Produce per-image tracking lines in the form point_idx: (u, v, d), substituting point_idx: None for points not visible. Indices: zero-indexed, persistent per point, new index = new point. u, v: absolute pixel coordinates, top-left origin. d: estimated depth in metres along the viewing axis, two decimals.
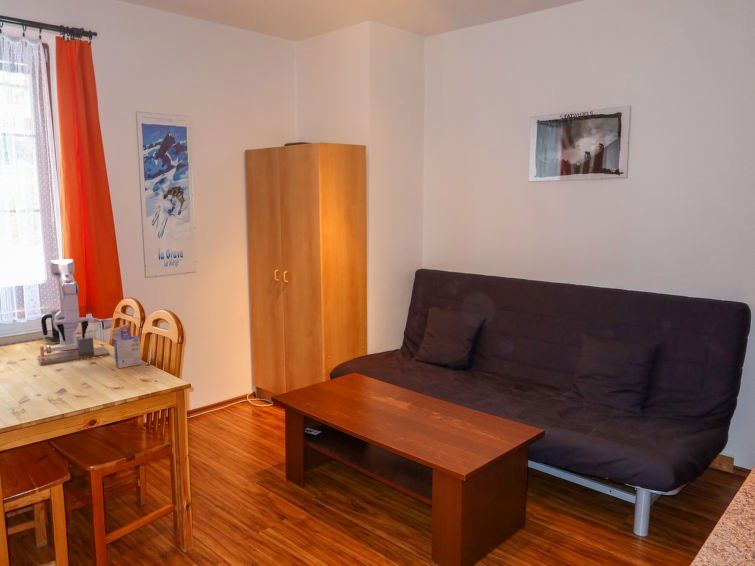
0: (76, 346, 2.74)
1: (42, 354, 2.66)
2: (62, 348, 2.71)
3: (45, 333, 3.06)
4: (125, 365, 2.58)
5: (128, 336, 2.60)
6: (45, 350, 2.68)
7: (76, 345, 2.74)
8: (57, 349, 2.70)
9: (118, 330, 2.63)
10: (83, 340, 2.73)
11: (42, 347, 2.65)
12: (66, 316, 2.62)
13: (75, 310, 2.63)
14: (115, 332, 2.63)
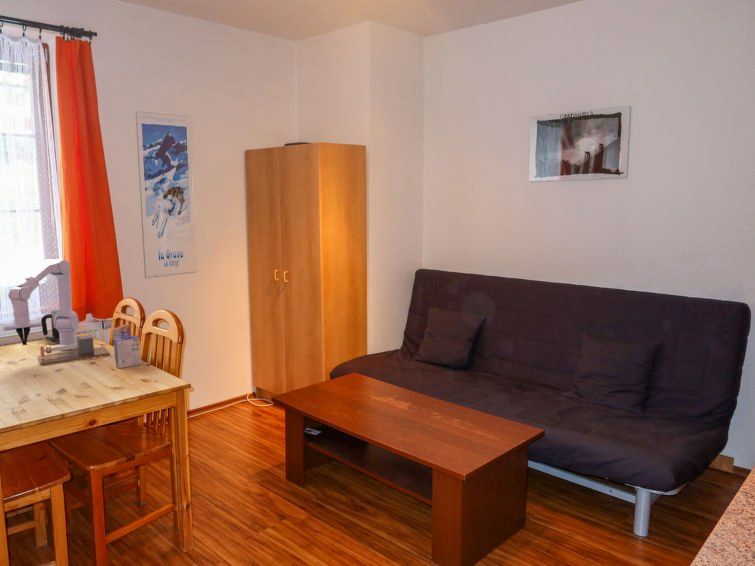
0: (76, 346, 2.74)
1: (42, 354, 2.66)
2: (62, 348, 2.71)
3: (45, 333, 3.06)
4: (125, 365, 2.58)
5: (128, 336, 2.60)
6: (45, 350, 2.68)
7: (76, 345, 2.74)
8: (57, 349, 2.70)
9: (118, 330, 2.63)
10: (83, 340, 2.73)
11: (42, 347, 2.65)
12: (16, 321, 2.59)
13: (25, 315, 2.60)
14: (115, 332, 2.63)
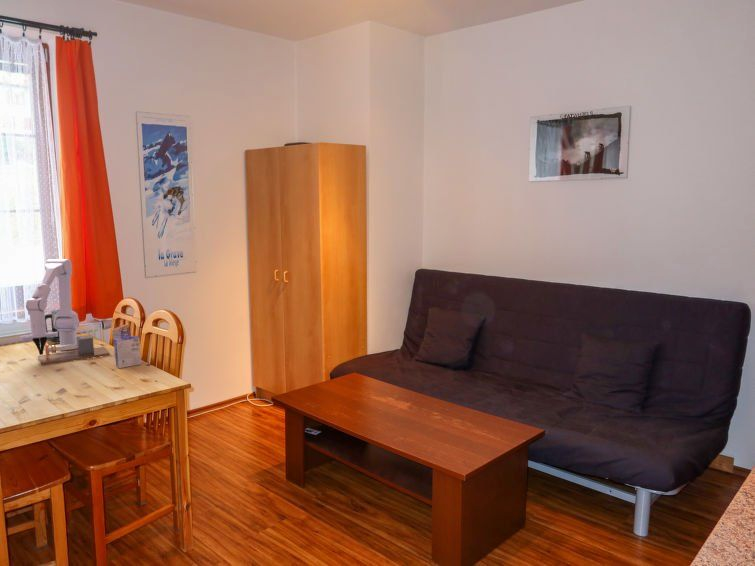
0: None
1: (47, 353, 2.67)
2: (67, 347, 2.72)
3: None
4: (125, 365, 2.58)
5: (128, 336, 2.60)
6: (50, 349, 2.69)
7: None
8: (62, 348, 2.71)
9: (118, 330, 2.63)
10: (83, 340, 2.73)
11: (47, 346, 2.66)
12: (33, 331, 2.63)
13: (42, 325, 2.64)
14: (115, 332, 2.63)
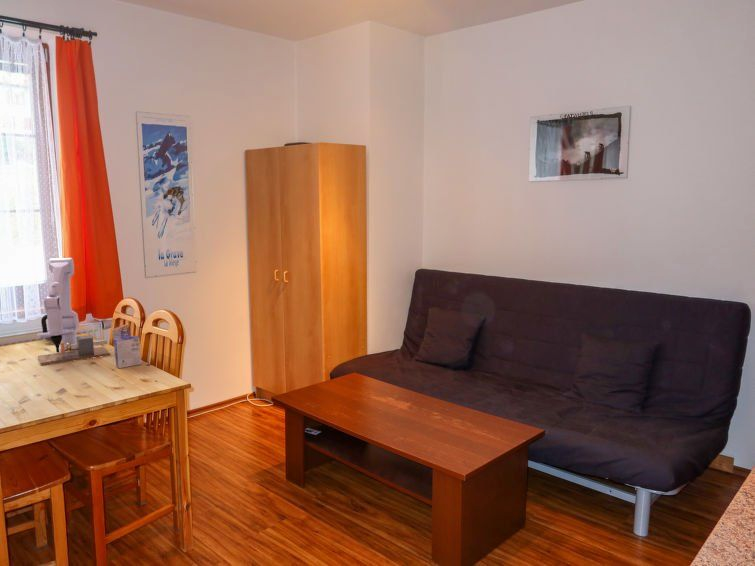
0: (95, 343, 2.79)
1: (62, 351, 2.70)
2: None
3: None
4: (125, 365, 2.58)
5: (128, 336, 2.60)
6: (65, 347, 2.72)
7: (95, 342, 2.79)
8: (77, 346, 2.75)
9: (118, 330, 2.63)
10: (83, 340, 2.73)
11: (62, 344, 2.70)
12: (50, 329, 2.67)
13: (59, 323, 2.68)
14: (115, 332, 2.63)
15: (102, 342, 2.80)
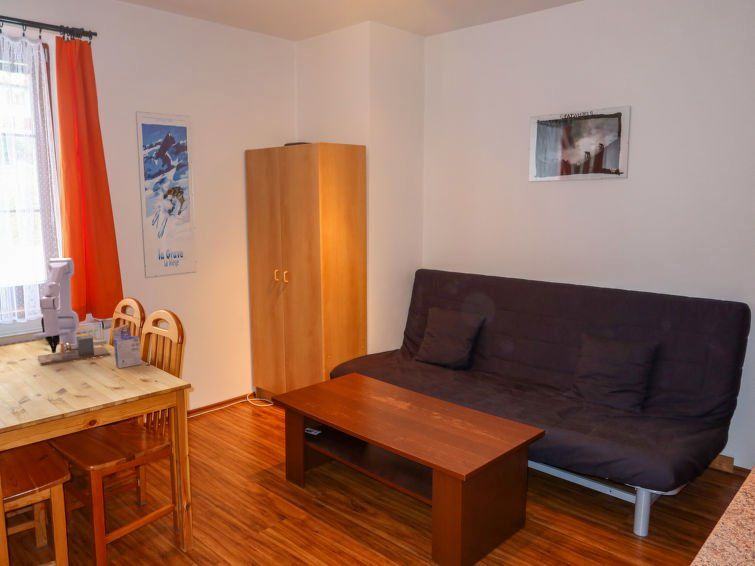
0: (95, 343, 2.79)
1: (62, 351, 2.70)
2: None
3: None
4: (125, 365, 2.58)
5: (128, 336, 2.60)
6: (65, 347, 2.72)
7: (95, 342, 2.79)
8: (77, 346, 2.75)
9: (118, 330, 2.63)
10: (83, 340, 2.73)
11: (62, 344, 2.70)
12: (46, 329, 2.66)
13: (55, 323, 2.67)
14: (115, 332, 2.63)
15: (102, 342, 2.80)
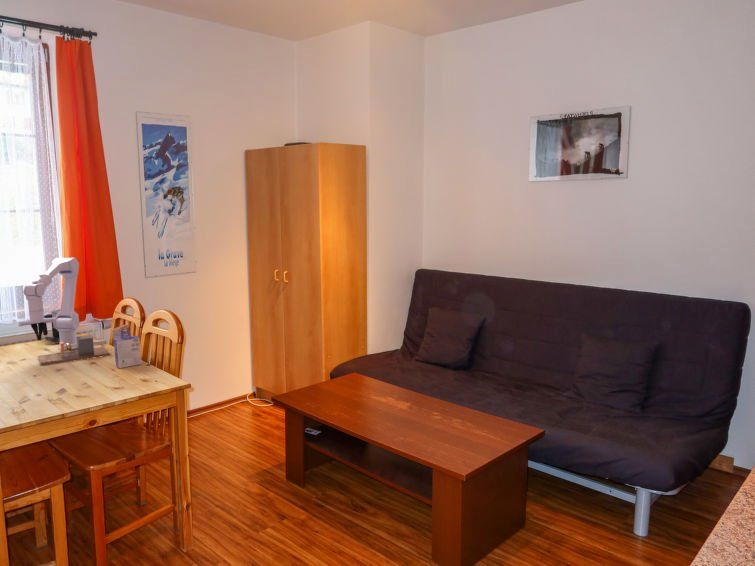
0: (95, 343, 2.79)
1: (62, 351, 2.70)
2: None
3: (45, 333, 3.06)
4: (125, 365, 2.58)
5: (128, 336, 2.60)
6: (65, 347, 2.72)
7: (95, 342, 2.79)
8: (77, 346, 2.75)
9: (118, 330, 2.63)
10: (83, 340, 2.73)
11: (62, 344, 2.70)
12: (31, 317, 2.65)
13: (40, 311, 2.66)
14: (115, 332, 2.63)
15: (102, 342, 2.80)
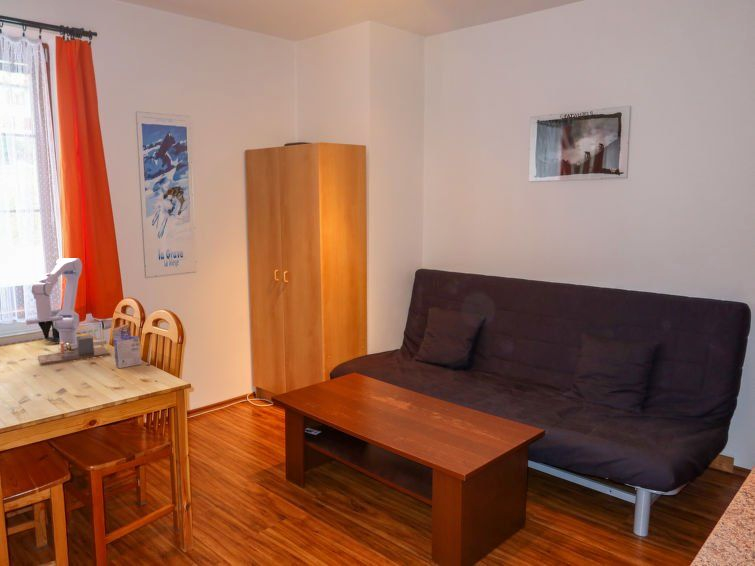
0: (95, 343, 2.79)
1: (62, 351, 2.70)
2: None
3: None
4: (125, 365, 2.58)
5: (128, 336, 2.60)
6: (65, 347, 2.72)
7: (95, 342, 2.79)
8: (77, 346, 2.75)
9: (118, 330, 2.63)
10: (83, 340, 2.73)
11: (62, 344, 2.70)
12: (38, 315, 2.68)
13: (47, 309, 2.69)
14: (115, 332, 2.63)
15: (102, 342, 2.80)
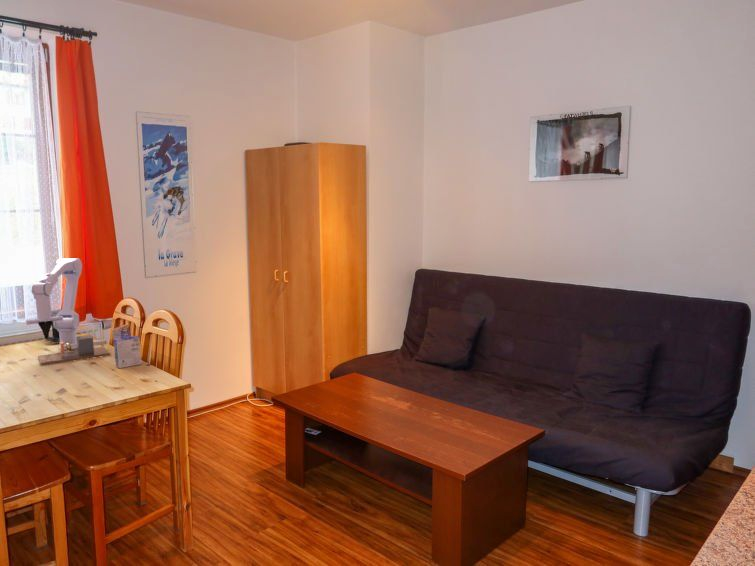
0: (95, 343, 2.79)
1: (62, 351, 2.70)
2: None
3: None
4: (125, 365, 2.58)
5: (128, 336, 2.60)
6: (65, 347, 2.72)
7: (95, 342, 2.79)
8: (77, 346, 2.75)
9: (118, 330, 2.63)
10: (83, 340, 2.73)
11: (62, 344, 2.70)
12: (38, 315, 2.68)
13: (47, 309, 2.69)
14: (115, 332, 2.63)
15: (102, 342, 2.80)
